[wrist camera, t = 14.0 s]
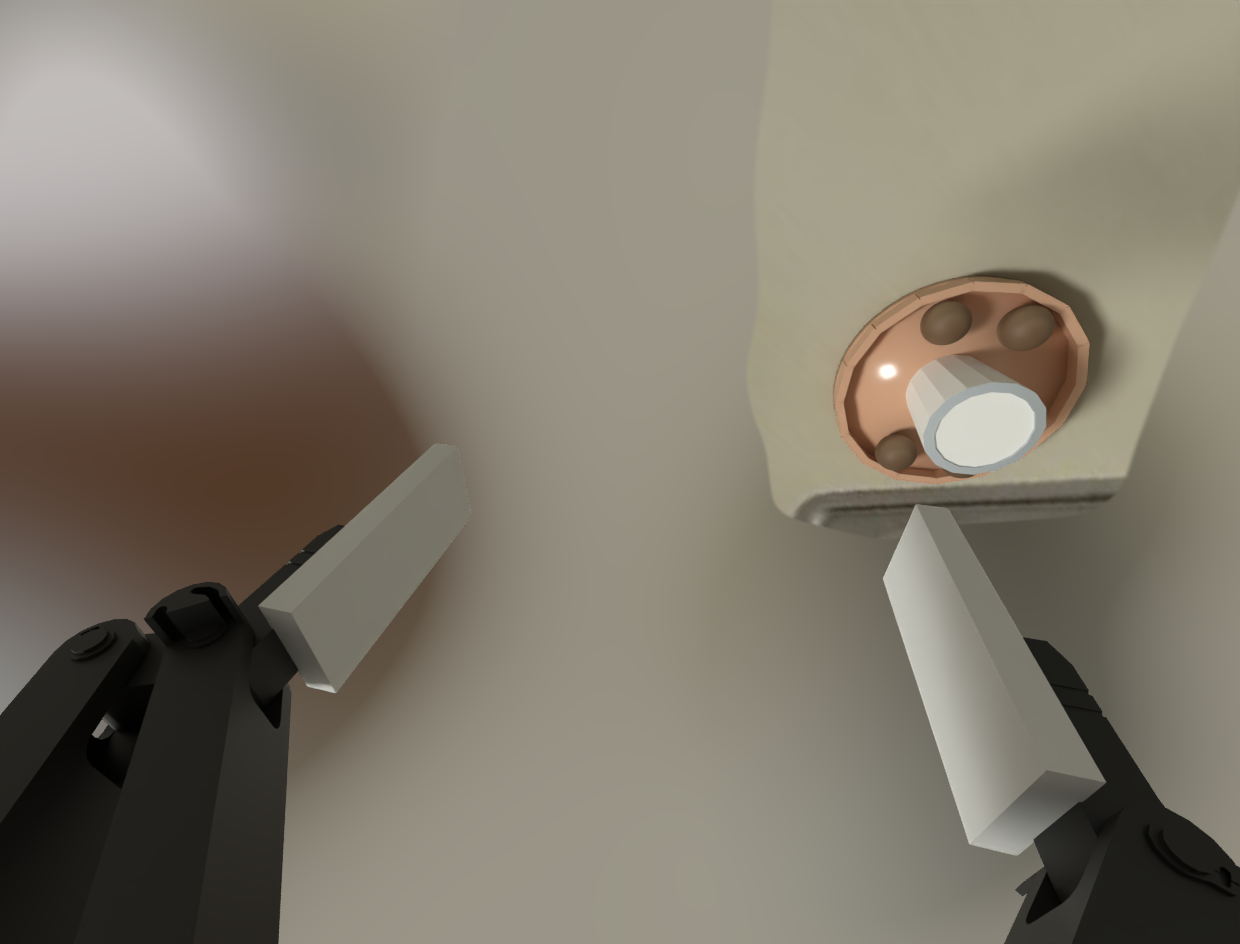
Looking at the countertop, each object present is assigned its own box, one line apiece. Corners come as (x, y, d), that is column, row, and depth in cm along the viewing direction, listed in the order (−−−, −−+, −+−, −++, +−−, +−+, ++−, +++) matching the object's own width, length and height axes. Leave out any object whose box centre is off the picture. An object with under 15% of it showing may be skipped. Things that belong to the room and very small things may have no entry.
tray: (864, 270, 35) (870, 276, 33) (1120, 282, 32) (1142, 289, 30) (813, 457, 43) (816, 470, 42) (1009, 479, 41) (1021, 494, 39)
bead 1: (877, 425, 39) (886, 443, 37) (916, 429, 39) (928, 447, 37) (866, 456, 41) (874, 475, 39) (904, 460, 41) (914, 479, 38)
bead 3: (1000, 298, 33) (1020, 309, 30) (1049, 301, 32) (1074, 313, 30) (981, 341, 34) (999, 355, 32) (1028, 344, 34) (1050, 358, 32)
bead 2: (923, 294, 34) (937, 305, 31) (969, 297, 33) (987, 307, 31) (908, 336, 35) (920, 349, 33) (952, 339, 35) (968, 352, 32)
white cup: (1021, 382, 35) (1074, 425, 30) (937, 443, 39) (970, 492, 34) (956, 327, 34) (998, 360, 29) (876, 395, 38) (900, 437, 32)
